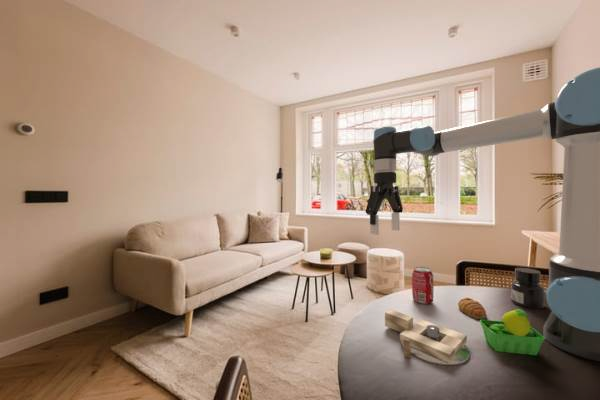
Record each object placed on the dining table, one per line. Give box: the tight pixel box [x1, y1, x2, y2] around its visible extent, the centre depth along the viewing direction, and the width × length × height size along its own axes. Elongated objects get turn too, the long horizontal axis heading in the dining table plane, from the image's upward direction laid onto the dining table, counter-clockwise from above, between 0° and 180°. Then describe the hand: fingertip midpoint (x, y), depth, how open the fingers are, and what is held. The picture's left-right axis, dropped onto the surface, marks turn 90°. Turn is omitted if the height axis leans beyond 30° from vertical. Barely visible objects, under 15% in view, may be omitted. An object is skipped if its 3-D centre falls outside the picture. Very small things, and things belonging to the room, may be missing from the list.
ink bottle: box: [510, 267, 546, 310], centre depth 92 cm, size 10×9×12 cm
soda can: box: [411, 266, 434, 305], centre depth 96 cm, size 7×7×12 cm
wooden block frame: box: [384, 308, 468, 363], centre depth 71 cm, size 19×12×4 cm, turn 41°
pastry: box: [457, 297, 488, 320], centre depth 86 cm, size 9×7×4 cm
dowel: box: [403, 338, 412, 359], centre depth 64 cm, size 2×2×4 cm
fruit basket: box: [479, 308, 546, 356], centre depth 66 cm, size 11×9×11 cm
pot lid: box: [400, 325, 470, 367], centre depth 68 cm, size 16×16×5 cm
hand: (385, 232), depth 93 cm, fingers open, 13 cm apart
